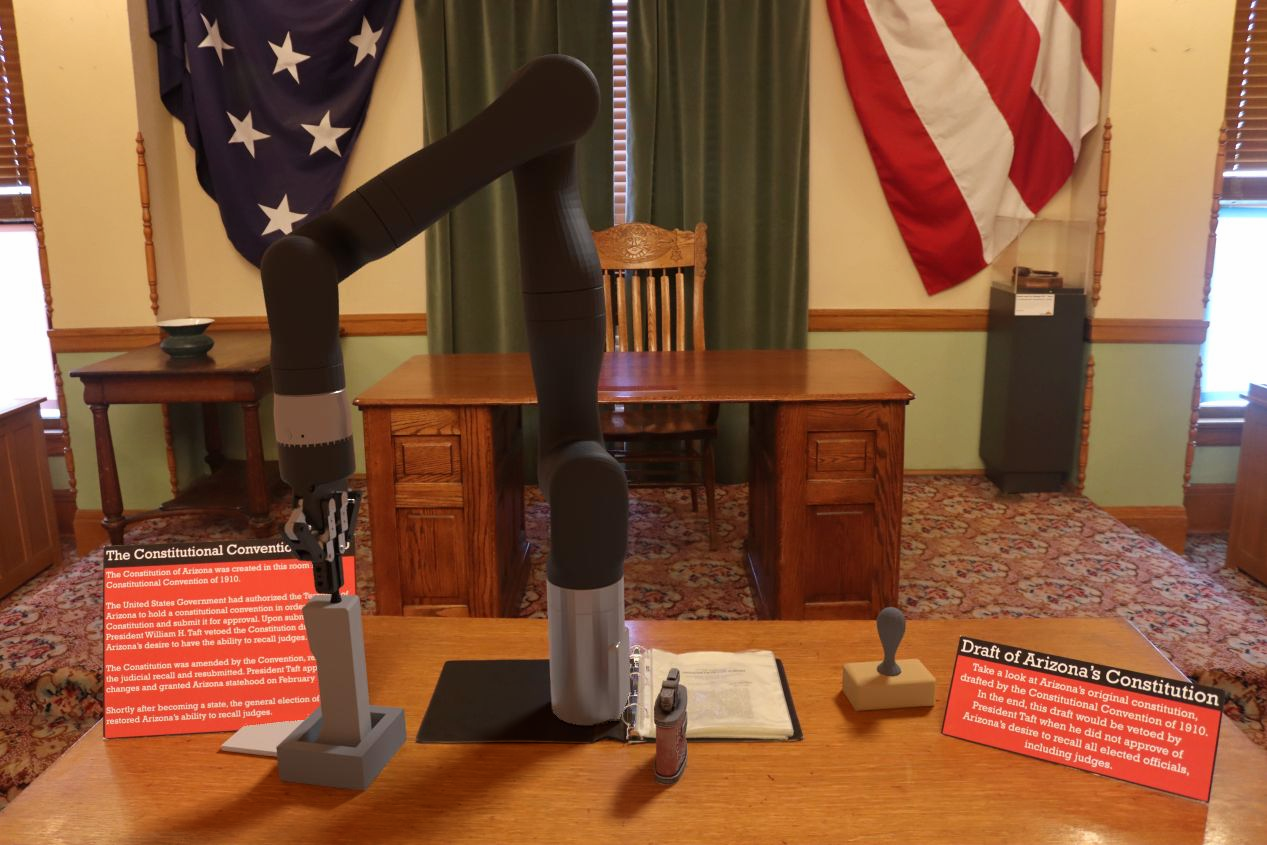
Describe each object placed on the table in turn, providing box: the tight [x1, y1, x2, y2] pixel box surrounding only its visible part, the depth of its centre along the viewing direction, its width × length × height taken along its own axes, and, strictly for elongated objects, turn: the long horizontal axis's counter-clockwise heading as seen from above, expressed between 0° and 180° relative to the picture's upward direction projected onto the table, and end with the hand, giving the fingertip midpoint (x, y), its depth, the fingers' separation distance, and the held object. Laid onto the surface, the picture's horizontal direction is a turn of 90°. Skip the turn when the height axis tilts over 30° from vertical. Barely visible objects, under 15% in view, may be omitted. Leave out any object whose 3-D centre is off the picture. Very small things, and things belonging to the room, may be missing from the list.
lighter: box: [653, 667, 689, 786], centre depth 101 cm, size 8×3×10 cm, turn 168°
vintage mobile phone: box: [301, 544, 372, 748], centre depth 100 cm, size 4×5×25 cm
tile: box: [220, 720, 304, 758], centre depth 109 cm, size 8×8×1 cm
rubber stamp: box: [841, 606, 937, 712], centre depth 114 cm, size 10×6×12 cm, turn 96°
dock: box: [276, 704, 408, 792], centre depth 103 cm, size 10×10×4 cm
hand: (330, 589), depth 99 cm, fingers closed on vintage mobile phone, 1 cm apart
